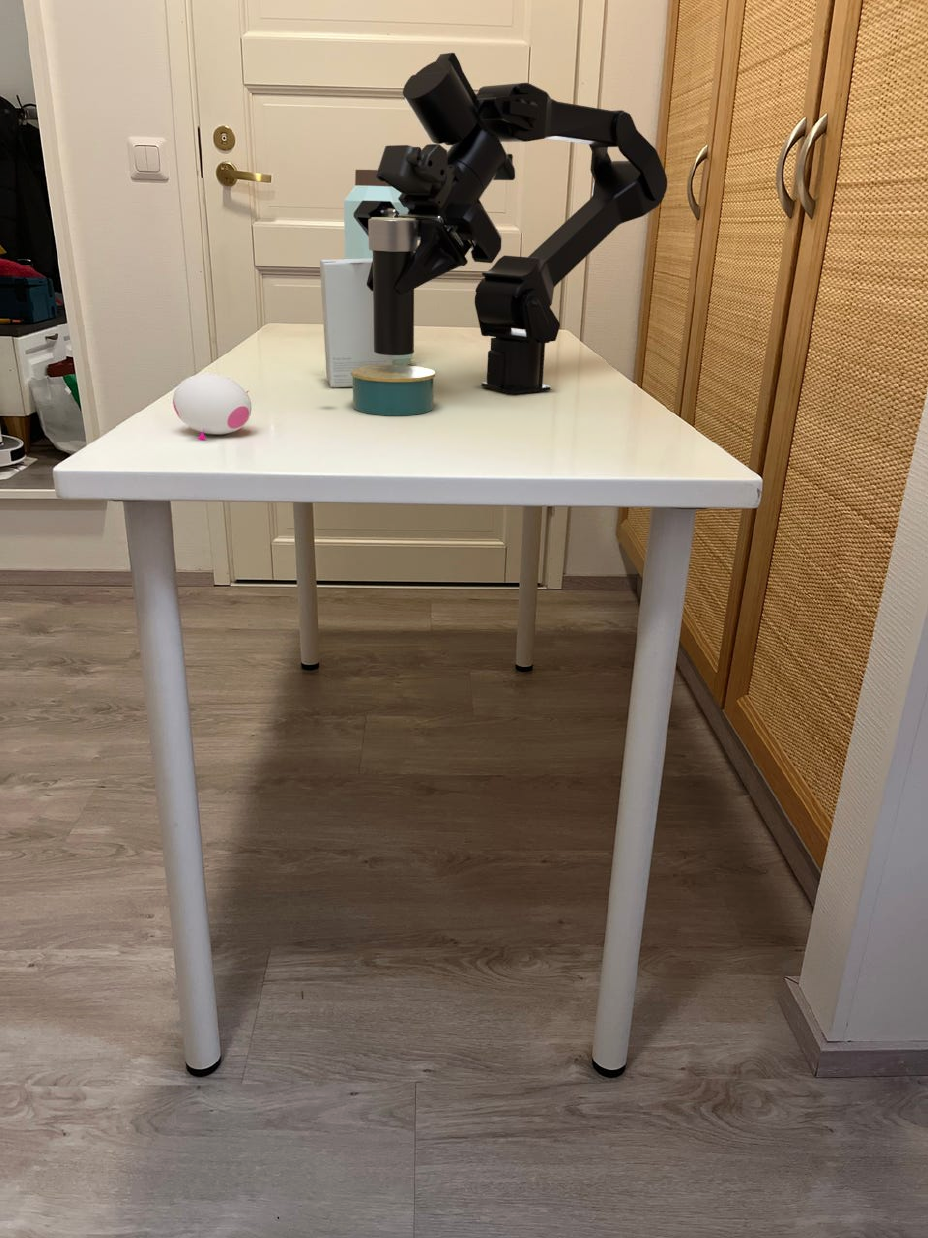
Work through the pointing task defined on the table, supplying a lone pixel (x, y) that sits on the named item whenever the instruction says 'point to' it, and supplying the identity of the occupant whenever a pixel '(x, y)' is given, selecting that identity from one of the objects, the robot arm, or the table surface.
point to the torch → (392, 283)
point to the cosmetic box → (348, 319)
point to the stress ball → (212, 404)
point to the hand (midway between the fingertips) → (383, 289)
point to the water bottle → (354, 234)
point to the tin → (392, 389)
